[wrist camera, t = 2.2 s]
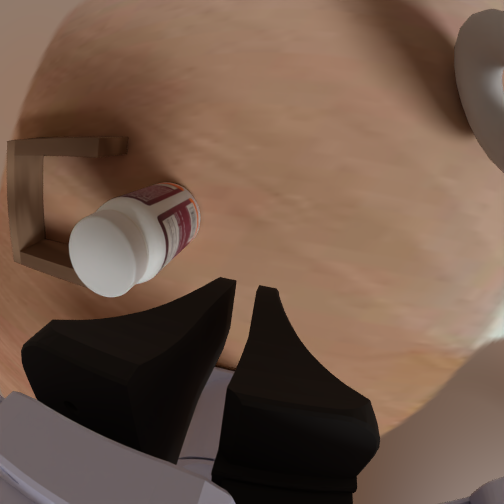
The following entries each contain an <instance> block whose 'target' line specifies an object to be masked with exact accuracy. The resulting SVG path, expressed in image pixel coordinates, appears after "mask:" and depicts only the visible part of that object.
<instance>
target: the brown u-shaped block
mask: <svg viewBox="0 0 504 504" xmlns="http://www.w3.org/2000/svg"><path fill="white" fill-rule="evenodd" d="M127 145H128V137H42V138H29V139H20V140H11V141H7V201H8V216H9V227H10V236H11V244H12V252H13V258H14V262H17V263H19V264H22V265H24V266H27V267H30V268H32V269H35V270H38V271H40V272H43V273H46V274H49V275H51V276H54V277H57V278H60V279H63V280H66V281H69V282H72V283H74V284H77V285H80V286H84V287H87V286H86V285H85V284H84V283H83V282H82V281H81V280H80V278H79V277H78V275H77V274H76V272H75V270H74V268H73V265H72V263H71V259H70V254H69V245H67V244H64V243H60V242H56V241H52V240H48V239H45V228H44V211H43V156H76V157H97V158H98V157H105V156H113V155H122V154H127ZM87 288H88V287H87Z"/></svg>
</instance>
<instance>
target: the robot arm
mask: <svg viewBox="0 0 504 504" xmlns="http://www.w3.org/2000/svg"><path fill="white" fill-rule="evenodd" d="M235 289H236V280H231V279H226V278H222V277H220V278H217V279H215V280H214V281H212V282H210V283H208V284H206V285H205V286H203V287H201V288H199V289H197V290H195V291H193V292H191V293H189V294H187V295H185V296H183V297H181V298H178V299H176V300H174V301H172V302H169V303H167V304H164V305H161V306H159V307H156V308H152V309H149V310H146V311H142V312H138V313H133V314H128V315H124V316H119V317H112V318H104V319H93V320H52V321H51V322H49V323H48V324H47V325H46V326H45V327H43V328H42V329H41V330H40V331H39V332H37V333H36V334H35V335H34V336H33V337H32V338H30V339H29V340H28V341H27V342H26V343H25V344H24V345H23V347H22V350H21V357H22V364H23V367H24V371H25V373H26V376H27V378H28V380H29V383H30V385H31V387H32V390H33V392H34V394H35V396H36V398H37V400H36V399H34V398H32V397H29V396H27V395H25V394H23V393H21V392H16V391H13V392H12V393H10V394H9V395H8V396H7V397H6V398H3V397H2V396H1V395H0V504H353V499H352V493H354V492H356V489H357V475H358V474H359V473H360V472H361V471H362V470H363V469H364V467H365V466H366V465H367V464H368V463H369V462H370V460H371V459H372V458H373V457H374V455H375V454H376V452H377V450H378V448H379V444H380V436H379V430H378V424H377V420H376V417H375V414H374V411H373V408H372V405H371V401H370V400H369V399H368V398H366V397H364V396H363V395H361V394H360V393H358V392H356V391H355V390H353V389H352V388H350V387H349V386H347V385H345V384H344V383H343V382H341V381H340V380H339V379H338V378H336V377H335V376H334V375H333V374H331V373H330V372H329V371H328V370H327V369H326V368H325V367H323V366H322V365H321V364H320V363H319V362H318V360H317V359H316V358H315V357H314V356H313V355H312V354H311V353H310V352H309V351H308V350H307V348H306V347H305V346H304V345H303V343H302V342H301V340H300V339H299V337H298V336H297V334H296V332H295V331H294V329H293V327H292V326H291V324H290V322H289V320H288V317H287V315H286V313H285V311H284V308H283V306H282V303H281V300H280V297H279V292H278V290H277V289H276V288H271V287H266V286H261V285H259V287H258V289H257V291H256V297H255V303H254V309H253V315H252V320H251V326H250V332H249V337H248V340H247V343H246V345H245V348H244V351H243V353H242V356H241V358H240V361H239V363H238V366H237V368H236V370H235V371H231V370H226V369H222V368H218V367H215V365H216V363H217V361H218V359H219V357H220V355H221V353H222V350H223V348H224V345H225V342H226V339H227V336H228V333H229V330H230V326H231V318H232V311H233V303H234V296H235ZM440 504H504V477H501V478H498V479H495V480H492V481H489V482H487V483H486V484H484V485H482V486H481V487H479V488H478V489H477V490H476V491H474V492H473V493H472V494H471V496H470V497H466V498H462V499H458V500H454V501H449V502H445V503H440Z"/></svg>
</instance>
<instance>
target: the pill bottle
mask: <svg viewBox="0 0 504 504" xmlns="http://www.w3.org/2000/svg"><path fill="white" fill-rule="evenodd" d="M199 226H200V210H199V207H198V204H197V202H196V200H195V199H194V197H193V196H192V194H191V193H190V192H189V191H188V190H187V189H185V188H184V187H182V186H180V185H178V184H175V183H170V182H164V183H158V184H155V185H152V186H149V187H146V188H143V189H140V190H137V191H134V192H131V193H128V194H125V195H122V196H119V197H116V198H113V199H111V200H109V201H107V202H106V203H104V204H103V205H102V206H101V207H100V208H99V209H98V210H97V211H96V212H95V213H93V214H91V215H89V216H87V217H85V218H83V219H82V220H80V221H79V222H78V223H77V224H76V225H75V227H74V228H73V230H72V232H71V235H70V240H69V254H70V259H71V263H72V265H73V268H74V270H75V272H76V274H77V275H78V277H79V278H80V280H81V281H82V282H83V283H84V284H85V285H86V286H87V287H88V288H89V289H90V290H92V291H93V292H95V293H97V294H99V295H102V296H105V297H117V296H121V295H123V294H125V293H126V292H127V291H129V290H130V289H131V288H132V287H133V286H134V285H135V284H139V283H143V282H146V281H148V280H150V279H152V278H153V277H154V276H155V275H157V274H158V273H159V271H160V270H161V269H162V268H163V267H165V266H166V265H167V264H168V263H169V262H170V261H171V260H172V259H173V258H174V257H175V256H176V255H177V254H178V253H179V252H181V250H182V249H184V248H185V247H186V246H187V245H188V244H189V243H190V242H191V241H192V240H193V239H194V237H195V236H196V234H197V232H198V229H199Z"/></svg>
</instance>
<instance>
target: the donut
mask: <svg viewBox="0 0 504 504" xmlns="http://www.w3.org/2000/svg"><path fill="white" fill-rule="evenodd" d="M454 69H455V76H456V84H457V88H458V92H459V96H460V100H461V104H462V106H463V109H464V112H465V114H466V117H467V120H468V123H469V125H470V127H471V129H472V131H473V133H474V135H475V137H476V139H477V141H478V143H479V144H480V146H481V147H482V148H483V150H484V151H485V153H486V154H487V156H488V157H489V159H490V160H491V161H492V162H493V163H494V164H495V165H496V166H497V167H498V168H499V169H500V170H501V171H502V172H503V173H504V91H503V87H502V73H503V69H504V11H500V10H496V9H489V10H485V11H481V12H478V13H475V14H472V15H471V16H470V17H469V18H468V19H467V20H466V22H465V23H464V24H463V25H462V27H461V28H460V30H459V34H458V37H457V41H456V44H455V48H454Z"/></svg>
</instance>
